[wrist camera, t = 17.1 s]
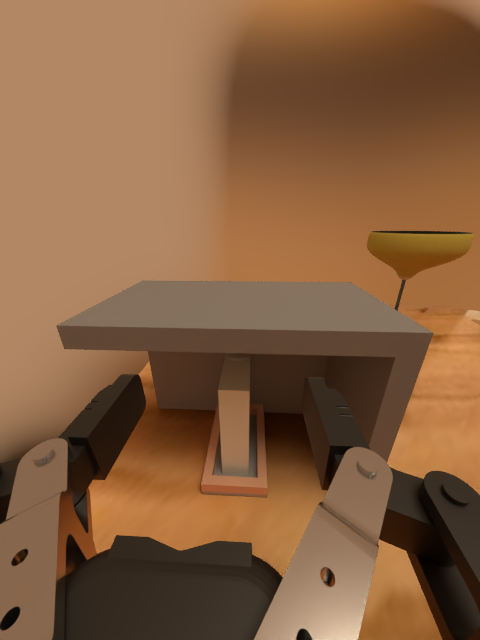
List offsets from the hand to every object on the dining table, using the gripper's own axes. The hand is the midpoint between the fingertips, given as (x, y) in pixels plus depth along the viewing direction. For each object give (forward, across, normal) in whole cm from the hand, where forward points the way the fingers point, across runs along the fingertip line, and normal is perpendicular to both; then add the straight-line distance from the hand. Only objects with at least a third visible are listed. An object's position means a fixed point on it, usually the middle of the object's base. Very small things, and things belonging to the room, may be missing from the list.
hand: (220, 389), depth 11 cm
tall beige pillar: (+12, +1, +19) cm, 23 cm away
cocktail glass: (+45, -36, +21) cm, 61 cm away
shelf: (+12, +1, +20) cm, 23 cm away
